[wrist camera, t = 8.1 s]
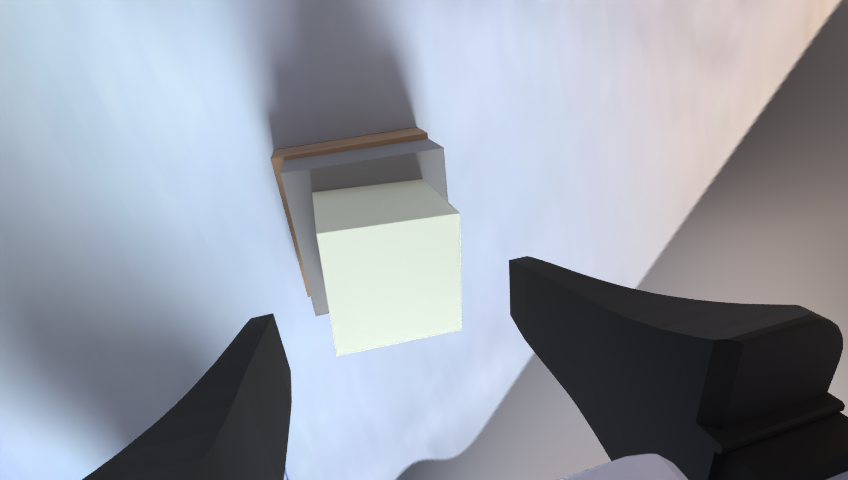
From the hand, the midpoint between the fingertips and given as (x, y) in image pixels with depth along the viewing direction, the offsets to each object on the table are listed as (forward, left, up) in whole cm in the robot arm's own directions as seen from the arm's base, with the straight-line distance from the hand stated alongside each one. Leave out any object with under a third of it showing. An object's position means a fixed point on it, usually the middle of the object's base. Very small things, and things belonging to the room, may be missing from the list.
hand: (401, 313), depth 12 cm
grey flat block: (0, 0, -8) cm, 8 cm away
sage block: (0, 0, -6) cm, 6 cm away
